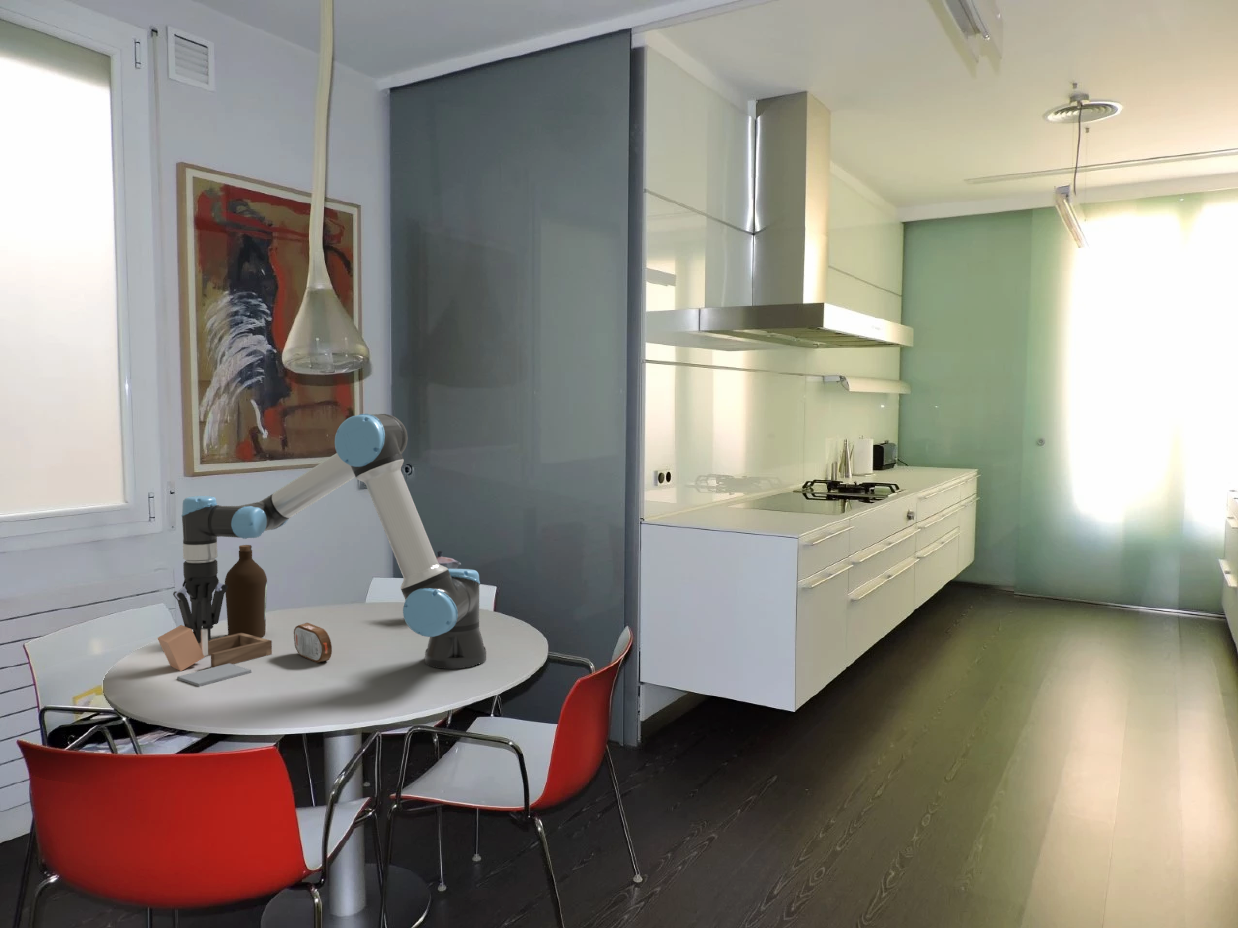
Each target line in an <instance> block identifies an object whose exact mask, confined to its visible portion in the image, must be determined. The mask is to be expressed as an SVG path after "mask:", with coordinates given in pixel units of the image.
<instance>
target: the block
mask: <svg viewBox="0 0 1238 928" xmlns="http://www.w3.org/2000/svg"><path fill="white" fill-rule="evenodd" d="M156 639H157V640H158V642H159V645H160V647H161V649H162V651H163V653H164V655H165V657H166V659H167V661H168V664H169V666H170V667H172V668H173V669H176V670H178V671H180V672H182V671H184V670H186V669H187V668H189V667H191V666H192V665H194V664H196V663H197V662H199V661H201V660H203V659H205V657H204V655H203V653H202V651H201V648H200V646H199V644H198V642H197V640H196V638H195V635H194V633H193V630H192V629H190V628H187V627H185V626H184V624H183V625H182V624H181V625H179V626H177V627H174V628H173V629H171V630H169V631H167V632H166V633H164V634H162V635H160V636H158V637H157V638H156Z"/></svg>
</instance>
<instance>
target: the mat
mask: <svg viewBox="0 0 1238 928" xmlns="http://www.w3.org/2000/svg"><path fill="white" fill-rule="evenodd" d="M251 673H252V669H249V668H246V667H244V666H240V665H237V664H230V663H228V664H225V665H221V666H217V667H213V668H211V667H209V668H204V669H201V670H197V671H194V672H191V673H186V674H181V675H178V676H177V677H176V680H178V679H179V681H182V682H185V683H188V684H191V685H194V686H196V687H201V686H202V687H203V686H206V685H210V684H213V683H216V682H221V681H224V680H223V679H225V680H228V679H232V678H236V677H239V676H242V675H247V674H251ZM227 678H228V679H227Z"/></svg>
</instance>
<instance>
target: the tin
mask: <svg viewBox="0 0 1238 928" xmlns="http://www.w3.org/2000/svg"><path fill="white" fill-rule="evenodd" d="M293 639H294V647H295V650H296V652H297V654H298V655H300V656H301V657H302V658H305V659H307V660H310V661H312V662H313V663H317V664H319V663H323V662H328V661H329V660H330V659H331V657H332V653H333V646H332V641H331V638H330V635H329V634H328V632H327V631H326V629H324V628H322V627H321V626H317V625H315V624H312V623H310V622H305V623H302V624H301V623H300V624H298V625H296V626H295V628H294V629H293Z"/></svg>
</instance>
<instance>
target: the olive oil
mask: <svg viewBox="0 0 1238 928" xmlns="http://www.w3.org/2000/svg"><path fill="white" fill-rule="evenodd" d="M238 548H239V550H238V560H237V561H236V562H235V564H234V565H233V566H232V567H231V568H230V569H229V570H228V571H227V573H226V576H225V578H224V584H225V585H227V586H228V588H227V590H226V592H225V594H224V595H225V605H226V607H225V608H226V618H227V621H226V622H227V636H230V635H234V634H238V633H244V634H248V635H252V636H256V637H260V638H263V637H264V636H266V630H267V629H266V628H267V627H266V620H267V619H266V618H267V616H266V615H267V614H266V613H267V595H268V594H267V593H268V591H267V590H268V578H267V574H266V571H265V570H264V569H263V567H261V566H260V565H259V563H257V562H256V561H255V560H254V558H253V550H252V548H253V546H252V544H242V545H239V546H238Z"/></svg>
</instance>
